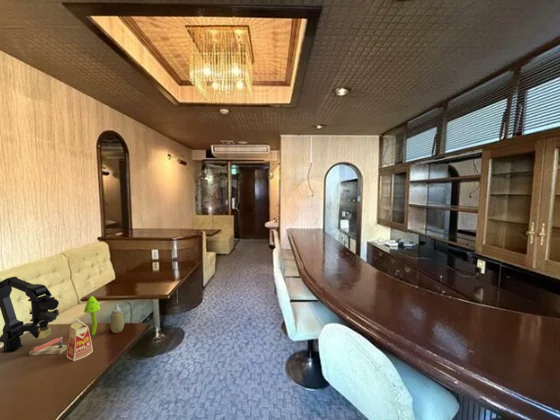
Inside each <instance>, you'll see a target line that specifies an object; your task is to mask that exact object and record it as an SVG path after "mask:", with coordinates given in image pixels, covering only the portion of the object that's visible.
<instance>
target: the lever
mask: <svg viewBox="0 0 560 420" xmlns="http://www.w3.org/2000/svg"><path fill="white" fill-rule="evenodd" d="M59 341H62V342H63V336H60V337H57V338H54V339H51V340H50V341H48V342H45V343H43V344H40V345H38V346H36V348H34V349H33V352H37V351H40V350H42V349H44V348H46V347H48V346H54V344H57V343H59Z"/></svg>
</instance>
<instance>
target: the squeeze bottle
mask: <svg viewBox="0 0 560 420" xmlns="http://www.w3.org/2000/svg"><path fill="white" fill-rule="evenodd" d="M109 323H110V324H109V328H110V330H111V333H113V334H118V333H120V332H123V330H124V327H125V319H124V313H123V311H122V308H121V307H119V304H118V303H115V305H114V308H113V309H112V312H111V314H110V322H109Z"/></svg>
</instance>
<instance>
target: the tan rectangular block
mask: <svg viewBox="0 0 560 420" xmlns="http://www.w3.org/2000/svg"><path fill="white" fill-rule="evenodd" d="M51 334H52V327H51V326H47V327H41V328H39V329H38V338H35V337H34V336H33V335H32V339H33V340H35V339H37V340H38V339H46V338H47V337H49V336H50V335H51Z"/></svg>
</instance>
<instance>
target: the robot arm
mask: <svg viewBox="0 0 560 420" xmlns="http://www.w3.org/2000/svg"><path fill="white" fill-rule="evenodd" d="M13 288H14V289H16V290H19V291H21V292H23V293H25V296H26V297H27V298H28V299H27V301H28V302H30V307H31V308H30V310H31V311H30V312H29V315H31V319H30V320H29V322H26V323H24V321H23V320H19V319H18V318H17V315H16V311H15V308H14V304H13V301H12V298H11V294H12V291H13ZM59 303H60V302H59V300H58V299H57V298H55V296H53V294H52V293H51V291H50V290H49V289H48V288H47V286H46V285H45V284H41V283H30V282H28V281H25V280H23V279H21V278H19V277H17V276H11V277H6V278H5V279H3V280H1V281H0V311H1V316H2V318H3V323H4V324H3V325H4V326H3V327H2V334H1V335H0V343H3V350H1V353H13V352H15V351H18V350H19V349H20V348H21V347H23V346H24V344H22V340H21V336H24V335H25V332H28V333H29V334H31V335H32V337H33V336H34V337H35V338H38V329H39V328H41V327H48V325H49V324H50V323H53V321H55V320H57V317H58V316H59V315H60V314H59V313H60V312H59V309H58V306H59V305H60V304H59ZM38 339H39V338H38Z"/></svg>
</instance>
